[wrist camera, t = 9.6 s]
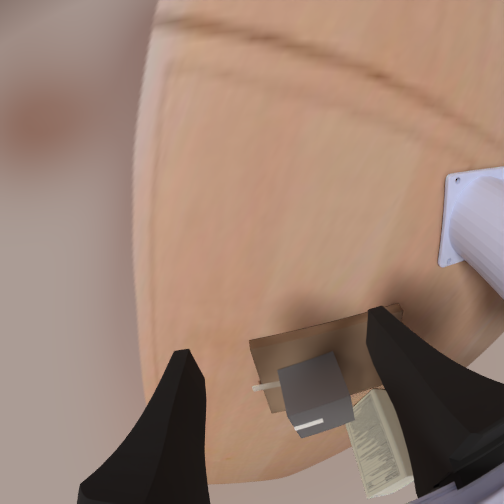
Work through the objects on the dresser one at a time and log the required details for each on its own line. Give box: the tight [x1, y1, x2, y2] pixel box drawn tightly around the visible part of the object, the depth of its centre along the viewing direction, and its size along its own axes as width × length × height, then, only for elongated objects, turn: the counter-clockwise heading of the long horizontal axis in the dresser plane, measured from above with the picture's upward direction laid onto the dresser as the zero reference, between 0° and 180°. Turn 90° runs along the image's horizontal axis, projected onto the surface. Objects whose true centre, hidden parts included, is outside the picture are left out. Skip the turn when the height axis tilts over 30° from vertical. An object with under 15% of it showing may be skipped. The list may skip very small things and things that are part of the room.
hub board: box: [249, 303, 403, 413], centre depth 26 cm, size 14×11×4 cm
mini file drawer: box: [277, 351, 355, 438], centre depth 24 cm, size 5×5×5 cm
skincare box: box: [345, 389, 414, 499], centre depth 27 cm, size 6×4×12 cm
